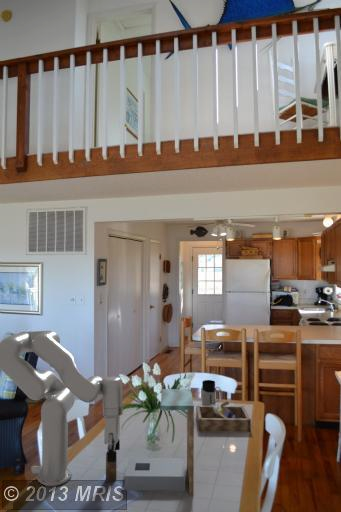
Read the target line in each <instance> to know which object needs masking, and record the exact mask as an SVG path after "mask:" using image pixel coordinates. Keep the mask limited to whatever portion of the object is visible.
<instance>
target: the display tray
mask: <svg viewBox="0 0 341 512" xmlns="http://www.w3.org/2000/svg"><path fill="white" fill-rule="evenodd" d="M223 407H224V408H226V409H228V410H229V411H231V412H232V413H233V414H234V415H235V417H236V418H221V417H220V418H215V416H216V415H217V414H216V413H214V409H213V408H212V407H211V406H202V405H196V407H195V408H196V411H195V412H196V413H195V416H196V418H195V419H196V422H197V428H198V432H199V433H202V432H206V433H207V432H217V433H218V432H220V433H221V432H222V433H223V432H224V433H231V432H232V433H245V432H246V433H251V432H252V424H251V423H252V420H251V417H250V416H249V413H248V412H247V410H246V408H245V407H244V406H243V405H226V406H223Z"/></svg>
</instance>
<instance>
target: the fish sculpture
mask: <svg viewBox="0 0 341 512" xmlns="http://www.w3.org/2000/svg"><path fill="white" fill-rule="evenodd" d="M229 405H230V402H229V401H224V402H222V403H221V404H220V405H216V404H215V405H211V407H212V408H213V409H214V413H216V414H217V415H216V416H215V418H220V417H221V418H236V417H235V415H234V414H233V413H232V412H231V411H229V410H228V409H226V408H224V407H223V406H229Z"/></svg>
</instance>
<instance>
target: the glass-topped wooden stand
mask: <svg viewBox="0 0 341 512" xmlns="http://www.w3.org/2000/svg"><path fill="white" fill-rule="evenodd" d="M160 394H161V395H160V411H186V415H187V416H186V470H187V471H186V473H187V474H186V475H187V482H188V483H187V485H188V486H187V487H188V495H189V496H194V489H195V487H194V484H195V482H194V481H195V479H194V473H195V472H194V465H195V464H194V459H195V458H194V453H195V451H194V448H195V445H194V441H195V437H194V436H195V434H194V433H195V431H194V429H195V427H194V425H195V409H194V408H195V405H194V399H193V398H194V397H193V393H192V389H191V388H189V389H188V388H162V389H161V393H160Z"/></svg>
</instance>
